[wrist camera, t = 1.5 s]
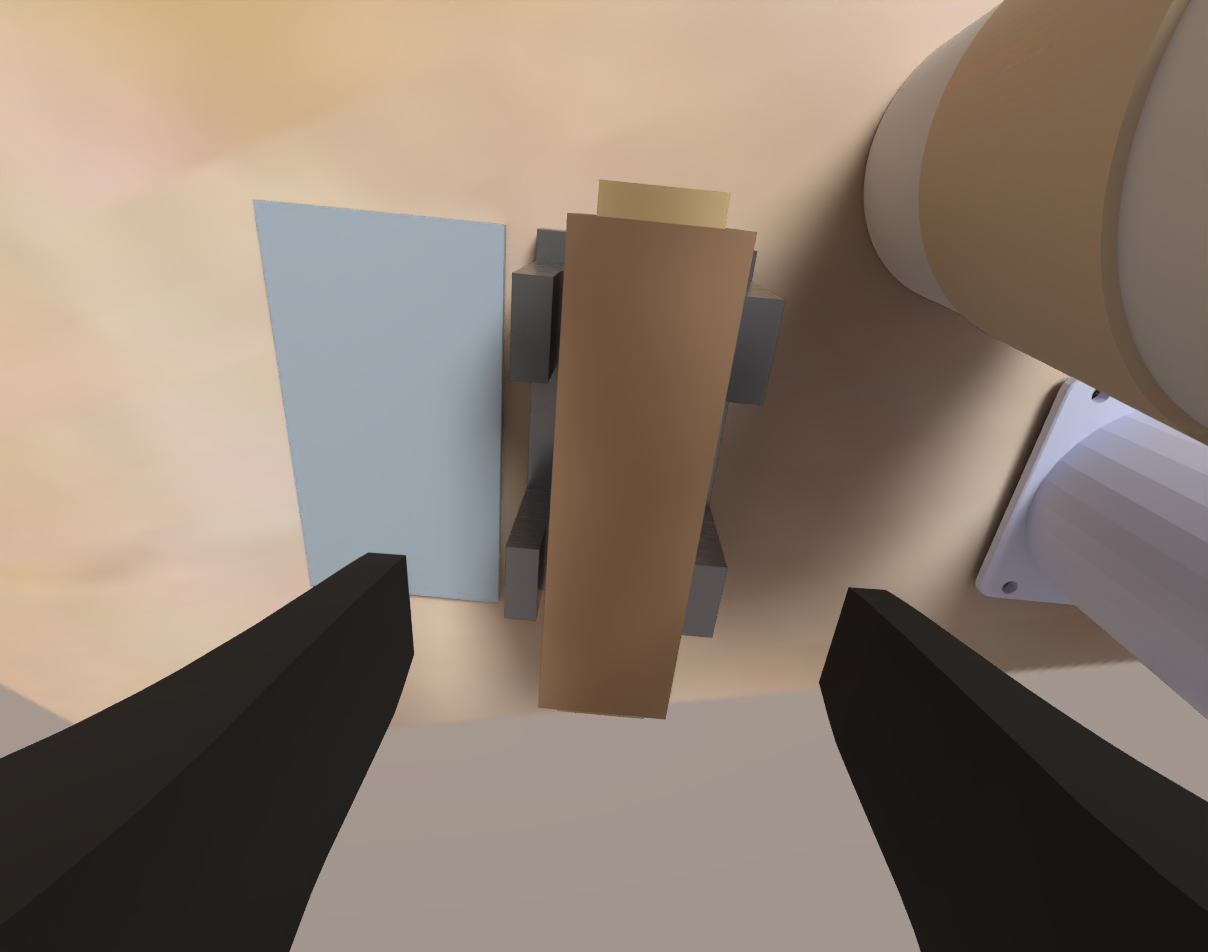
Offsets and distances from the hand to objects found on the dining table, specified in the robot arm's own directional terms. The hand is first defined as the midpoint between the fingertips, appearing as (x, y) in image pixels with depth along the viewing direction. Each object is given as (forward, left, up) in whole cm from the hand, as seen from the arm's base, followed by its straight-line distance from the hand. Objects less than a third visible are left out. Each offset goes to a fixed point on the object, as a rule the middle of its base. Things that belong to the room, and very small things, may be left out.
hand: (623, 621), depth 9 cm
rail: (0, 0, -7) cm, 7 cm away
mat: (+7, +1, -10) cm, 12 cm away
